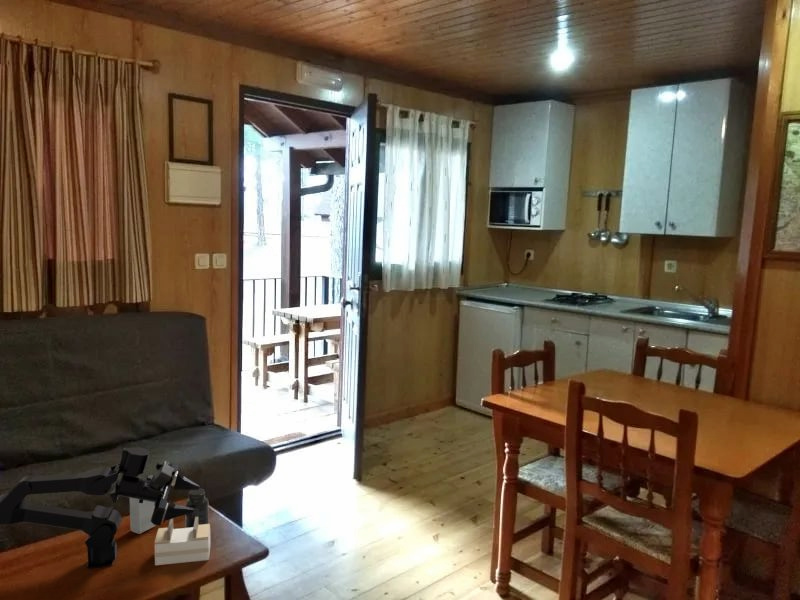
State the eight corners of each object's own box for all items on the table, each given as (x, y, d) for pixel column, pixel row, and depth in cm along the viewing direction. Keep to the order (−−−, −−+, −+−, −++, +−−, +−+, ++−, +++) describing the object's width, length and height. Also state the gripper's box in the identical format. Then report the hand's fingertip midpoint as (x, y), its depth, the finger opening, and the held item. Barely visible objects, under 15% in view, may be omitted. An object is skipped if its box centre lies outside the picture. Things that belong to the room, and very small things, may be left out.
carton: (154, 565, 168) (154, 544, 167) (159, 550, 176) (158, 530, 175) (208, 560, 171) (208, 539, 171) (210, 545, 179) (210, 525, 178)
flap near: (173, 528, 176) (173, 518, 175) (170, 542, 168) (169, 531, 168) (158, 530, 175) (158, 520, 174) (154, 543, 168) (154, 533, 167)
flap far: (193, 539, 170) (193, 529, 170) (195, 526, 177) (195, 516, 177) (208, 538, 171) (208, 528, 170) (210, 525, 178) (209, 515, 178)
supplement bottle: (180, 530, 187) (179, 493, 186) (197, 521, 193) (196, 484, 192) (197, 536, 184) (196, 498, 183) (213, 526, 190) (213, 489, 189)
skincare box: (146, 523, 192) (145, 485, 190) (156, 526, 189) (155, 488, 188) (129, 531, 186) (128, 493, 185) (139, 535, 184) (138, 496, 183)
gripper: (136, 489, 158) (197, 501, 162) (153, 443, 175) (209, 455, 179) (127, 521, 162) (187, 532, 166) (145, 473, 179) (199, 484, 183)
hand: (196, 499), depth 173 cm, fingers open, 9 cm apart
